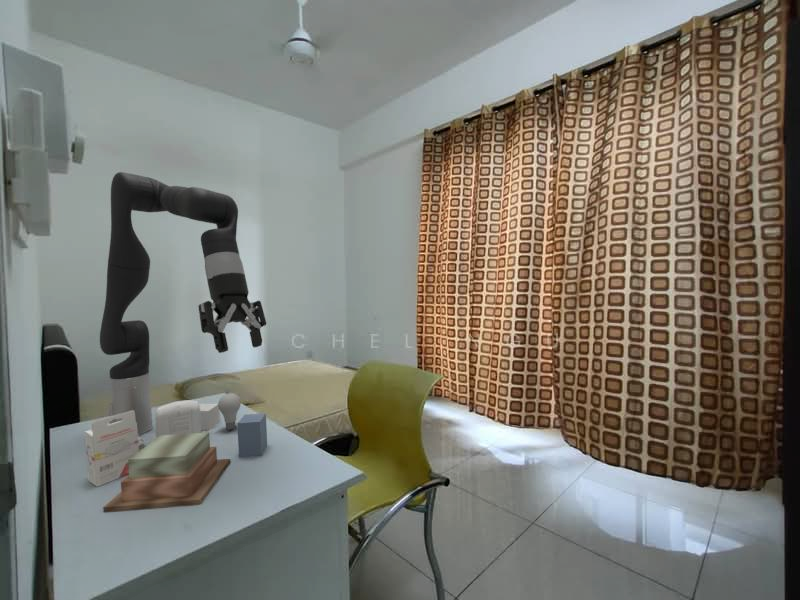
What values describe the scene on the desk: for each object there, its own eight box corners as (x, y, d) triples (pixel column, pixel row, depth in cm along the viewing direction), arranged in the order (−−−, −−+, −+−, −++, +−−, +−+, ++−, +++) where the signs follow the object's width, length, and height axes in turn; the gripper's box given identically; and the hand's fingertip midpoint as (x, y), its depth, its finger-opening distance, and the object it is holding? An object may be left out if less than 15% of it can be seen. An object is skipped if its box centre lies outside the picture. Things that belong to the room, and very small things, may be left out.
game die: (145, 444, 97) (144, 434, 96) (144, 450, 94) (144, 439, 93) (129, 448, 95) (128, 437, 94) (128, 454, 92) (127, 442, 91)
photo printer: (201, 438, 100) (198, 395, 99) (202, 444, 96) (200, 400, 96) (157, 448, 94) (154, 403, 93) (157, 455, 91) (154, 408, 90)
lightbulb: (216, 430, 105) (214, 394, 104) (237, 423, 110) (235, 389, 109) (224, 436, 101) (222, 398, 100) (245, 429, 105) (243, 393, 105)
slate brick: (238, 457, 88) (237, 423, 88) (246, 447, 94) (244, 414, 93) (261, 456, 89) (259, 421, 88) (267, 445, 95) (265, 413, 94)
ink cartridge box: (132, 463, 86) (127, 405, 86) (141, 469, 84) (137, 409, 83) (87, 481, 79) (82, 417, 78) (95, 488, 77) (90, 422, 76)
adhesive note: (189, 430, 105) (188, 411, 105) (201, 422, 111) (200, 404, 111) (209, 430, 105) (208, 410, 105) (220, 422, 111) (219, 403, 111)
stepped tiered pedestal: (103, 512, 68) (100, 467, 68) (152, 468, 84) (149, 431, 84) (200, 504, 70) (198, 460, 70) (230, 462, 86) (228, 426, 86)
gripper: (242, 283, 84) (256, 349, 82) (183, 280, 72) (198, 358, 70) (263, 273, 81) (278, 341, 79) (206, 268, 69) (222, 349, 67)
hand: (241, 349), depth 74 cm, fingers open, 8 cm apart
